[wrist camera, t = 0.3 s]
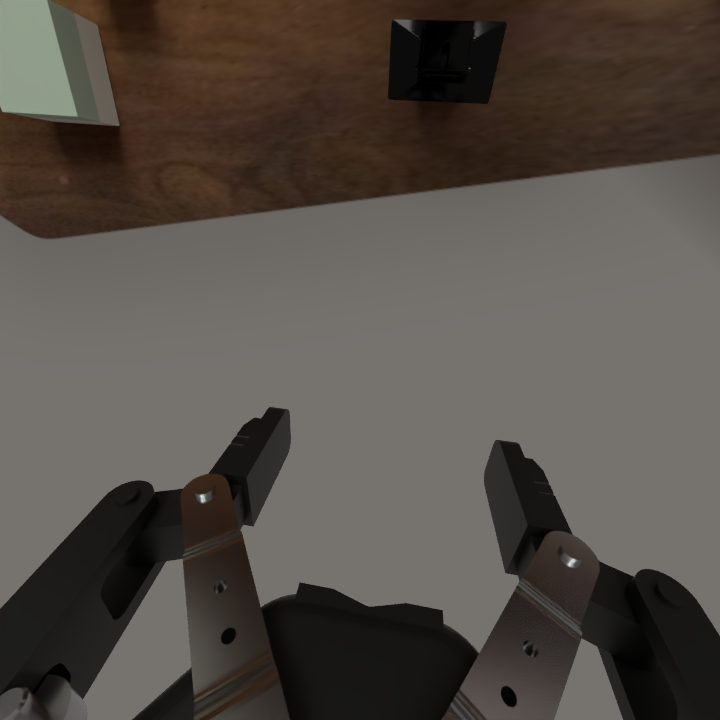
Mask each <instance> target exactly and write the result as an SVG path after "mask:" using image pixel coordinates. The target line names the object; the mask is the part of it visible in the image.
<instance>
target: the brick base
mask: <svg viewBox="0 0 720 720" xmlns="http://www.w3.org/2000/svg"><path fill="white" fill-rule="evenodd" d="M0 106H1V109H2V112H6V113H11V114H16V115H21V116H26V117H32V118H37V119H42V120H47V121H52V122H65V123H80V124H95V125H110V126H120V125H119V121H118V116H117V112H116V107H115V103H114V98H113V93H112V89H111V84H110V80H109V75H108V71H107V66H106V61H105V57H104V52H103V48H102V43H101V39H100V34H99V30H98V25H96V24H94V23H92V22H90V21H89V20H87V19H85V18H83V17H81V16H79V15H77V14H75V13H74V12H72V11H70V10H68V9H66V8H64V7H62V6H60V5H59V4H57V3H55V2H53V1H51V0H0Z"/></svg>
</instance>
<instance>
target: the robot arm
mask: <svg viewBox="0 0 720 720" xmlns="http://www.w3.org/2000/svg"><path fill="white" fill-rule="evenodd" d="M290 443H291V434H290V415H289V410H287V409H281V408H274V407H269V408H268V409H267V411H266V412H265V414H264V415H263V417H262V418H261V419H260V418H253V419H252V420H250V421H249V422H248V423H246V424H245V425H243V427H242V428H241V430H240V431H239V432H238V434H237V436H236V437H235V438H234V439H233V440H232V442H231V444H230V445H229V446H228V447H227V449H226V450H225V452H224V453H223V454H222V456H221V457H220V458H219V460H218V461H217V463H216V464H215V465H214V467H213V468H212V470H211V471H210V472H209V474H206V475H202V476H199V477H197V478H195V479H193V480H192V481H190V482H189V483H188V484H187V485H186V486H185V487H184V488H183V489H178V490H169V491H160V492H154V489H153V486H152V485H151V484H150V483H148V482H146V481H131V482H128V483H125V484H122V485H120V486H118V487H116V488H115V489H113V490H112V491H110V492H109V493H108V494H107V495H106V496H105V497H104V498H103V499H102V500H101V501H100V502H99V503H98V504H97V505H96V506H95V508H94V509H93V510H92V511H91V512H90V513H89V514H88V515H87V516H86V517H85V518H84V520H82V521H81V523H80V524H79V525H78V526H77V527H76V528H75V529H74V530H73V531H72V532H71V533H70V534H69V536H68V537H67V538H66V539H65V540H64V541H63V542H62V543H61V544H60V545H59V546H58V547H57V548H56V550H55V551H54V552H53V553H52V554H51V555H50V556H49V557H48V558H47V559H46V560H45V561H44V562H43V563H42V565H41V566H40V567H39V568H38V569H37V570H36V571H35V572H34V573H33V574H32V575H31V576H30V577H29V579H28V580H27V581H26V582H25V583H24V584H23V585H22V586H21V587H20V588H19V589H18V590H17V592H16V593H15V594H14V595H13V596H12V597H11V598H10V599H9V600H8V601H7V602H6V603H5V604H4V606H3V607H2V608H1V609H0V720H87V707H86V704H85V702H84V701H83V698H84V697H85V695H86V693H87V692H88V690H89V688H90V687H91V685H92V683H93V682H94V680H95V678H96V677H97V675H98V673H99V672H100V670H101V668H102V667H103V665H104V663H105V662H106V660H107V658H108V657H109V655H110V653H111V652H112V650H113V649H114V647H115V645H116V643H117V642H118V640H119V639H120V637H121V635H122V633H123V632H124V630H125V629H126V627H127V625H128V624H129V622H130V620H131V619H132V617H133V615H134V614H135V612H136V610H137V609H138V607H139V605H140V604H141V602H142V600H143V599H144V597H145V595H146V594H147V592H148V590H149V589H150V587H151V586H152V584H153V582H154V581H155V579H156V577H157V576H158V574H159V572H160V571H161V569H162V567H163V565H164V564H165V562H166V561H170V560H177V559H183V570H184V581H185V592H186V606H187V617H188V630H189V642H190V655H191V668H190V669H189V670H188V671H187V672H186V673H185V674H183V675H182V676H181V677H180V678H179V679H178V680H177V681H176V682H174V683H173V684H172V685H171V686H170V687H169V688H167V689H166V690H165V691H164V692H163V693H162V694H161V695H160V696H158V697H157V698H156V699H155V700H154V701H153V702H152V703H151V704H149V705H148V706H147V707H146V708H145V709H144V710H143V711H141V712H140V713H139V714H138V715H137V716H136V717H135V718H134V719H132V720H554V718H555V715H556V712H557V709H558V706H559V703H560V700H561V697H562V694H563V691H564V688H565V685H566V682H567V679H568V676H569V673H570V670H571V668H572V664H573V661H574V659H575V656H576V653H577V650H578V647H579V644H580V641H581V638H582V639H584V640H586V641H588V642H590V643H592V644H594V645H596V646H597V647H598V649H599V652H600V655H601V657H602V661H603V664H604V666H605V669H606V672H607V675H608V678H609V680H610V683H611V686H612V689H613V692H614V695H615V697H616V700H617V703H618V706H619V709H620V712H621V715H622V717H623V720H720V636H719V634H718V632H717V631H716V629H715V628H714V626H713V625H712V623H711V622H710V620H709V618H708V617H707V615H706V614H705V612H704V611H703V609H702V607H701V606H700V604H699V603H698V601H697V600H696V599H695V597H694V596H693V595H692V594H691V593H690V592H689V591H688V590H687V589H686V588H685V587H684V586H682V585H681V584H680V583H679V582H677V581H676V580H674V579H673V578H671V577H669V576H667V575H666V574H664V573H661V572H659V571H655V570H651V569H643V570H640V571H639V572H638V573H637V574H636V575H635V577H633V576H630V575H629V574H626V573H624V572H622V571H619V570H617V569H615V568H613V567H610V566H608V565H606V564H604V563H602V562H600V561H598V559H597V557H596V555H595V554H594V553H593V551H592V550H591V549H590V548H589V547H588V546H587V545H586V544H585V543H584V542H583V541H582V540H580V539H579V538H577V537H575V536H574V535H573V534H572V532H571V530H570V528H569V526H568V523H567V521H566V519H565V517H564V515H563V513H562V510H561V508H560V506H559V504H558V502H557V500H556V497H555V496H554V495H553V491H552V489H551V487H550V485H549V482H548V480H547V478H546V476H545V473H544V471H543V470H542V469H541V468H540V467H539V466H538V465H537V463H536V462H535V461H534V460H533V459H528V458H525V457H524V455H523V452H522V450H521V447H520V445H519V444H518V443H515V442H508V441H501V440H496V441H495V442H494V444H493V448H492V450H491V453H490V456H489V459H488V463H487V466H486V469H485V474H484V485H485V489H486V493H487V498H488V502H489V506H490V510H491V514H492V519H493V523H494V527H495V531H496V536H497V540H498V543H499V548H500V552H501V556H502V561H503V565H504V569H505V573H508V574H514V575H518V577H519V581H520V582H519V584H518V585H517V587H516V589H515V590H514V592H513V594H512V596H511V598H510V600H509V601H508V603H507V605H506V607H505V608H504V610H503V612H502V614H501V616H500V617H499V619H498V621H497V623H496V624H495V626H494V628H493V630H492V632H491V634H490V635H489V637H488V639H487V641H486V642H485V644H484V646H483V648H482V649H481V651H480V653H478V652H477V650H476V649H475V648H474V647H473V646H472V645H471V644H470V643H469V642H468V641H467V640H466V639H465V638H464V637H463V636H462V635H460V634H459V633H458V632H457V631H455V630H454V629H452V628H451V627H449V626H447V625H445V624H444V623H443V611H442V610H438V609H432V608H428V607H423V606H418V605H413V604H407V603H405V604H394V605H386V606H374V607H368V606H365V605H363V604H362V603H360V602H358V601H355V600H354V599H352V598H350V597H348V596H346V595H344V594H342V593H340V592H338V591H336V590H334V589H330V588H325V587H320V586H315V585H310V584H305V583H299V587H298V590H297V594H293V595H288V596H283V597H280V598H278V599H275V600H273V601H271V602H269V603H267V604H265V605H264V606H262V607H260V603H259V599H258V595H257V591H256V587H255V583H254V579H253V575H252V571H251V567H250V563H249V559H248V555H247V551H246V547H245V543H244V539H243V535H242V532H241V531H240V529H241V527H242V526H243V525H248V526H254V524H255V522H256V520H257V518H258V516H259V513H260V511H261V509H262V507H263V505H264V503H265V501H266V499H267V497H268V495H269V493H270V490H271V488H272V486H273V484H274V482H275V480H276V478H277V476H278V474H279V471H280V470H281V467H282V465H283V463H284V461H285V459H286V457H287V455H288V452H289V449H290Z"/></svg>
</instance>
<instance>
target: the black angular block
mask: <svg viewBox="0 0 720 720" xmlns="http://www.w3.org/2000/svg"><path fill="white" fill-rule="evenodd" d="M506 25H507V24H506V22H494V21H441V20H393V21H392V27H391V48H390V69H389V91H388V98H389V99H391V100H413V101H435V102H457V103H480V104H487V103H488V102H489V98H490V94H491V90H492V85H493V81H494V77H495V72H496V68H497V64H498V60H499V55H500V51H501V47H502V42H503V38H504V34H505V29H506Z"/></svg>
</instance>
